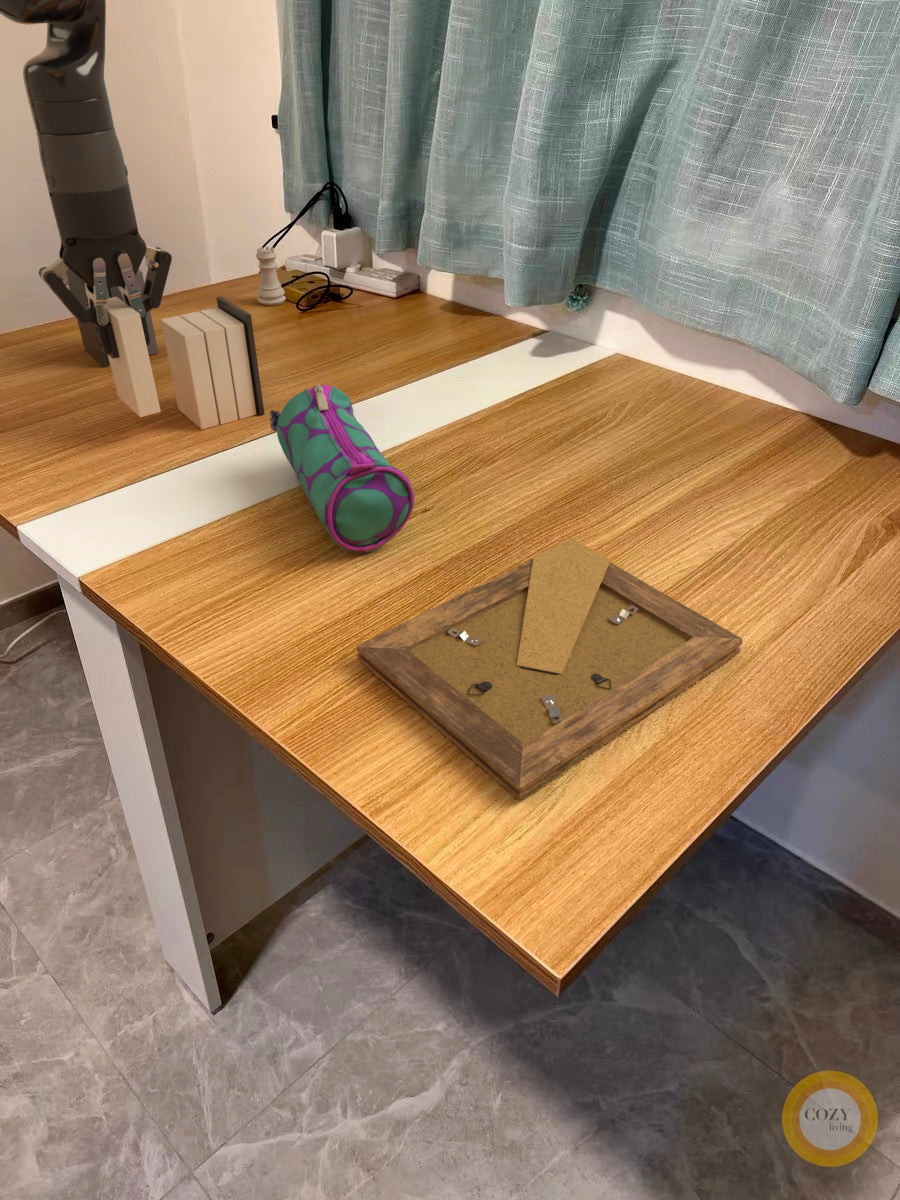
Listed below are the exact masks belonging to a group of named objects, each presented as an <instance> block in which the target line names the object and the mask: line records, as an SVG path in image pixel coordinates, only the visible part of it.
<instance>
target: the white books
mask: <svg viewBox="0 0 900 1200" xmlns="http://www.w3.org/2000/svg"><path fill="white" fill-rule="evenodd" d="M216 303H217V306H216V307H213V308H207V309H202V310H200V311H199V310H197V311H193V312H189V313H184V314H180V315H174V316H170V317H165V318H161V319H160V324H161V329H162V334H163V339H164V344H165V349H166V355H167V359H168V364H169V369H170V374H171V380H172V385H173V390H174V394H175V395H174V396H175V400H176V405H177V409H178V411H180V412H181V413H182V414H184V416H185V417H187V418H188V420H190V421H191V422H192V423H193V424H194V425H195V426H196V427H198V428H199V429H200V430H202V431H203V430H206V429H209V428H214V427H218V426H220V425H224V424H228V423H232V422H236V421H238V420H242V419H245V418H250V417H253V416H257V415H258V416H264V415H265V407H264V400H263V392H262V385H261V378H260V371H259V364H258V356H257V349H256V342H255V335H254V328H253V327H254V326H253V320H252V314H251V313H249V312H247V311H246V310H244V309H242V308H241V307H239V306H238V305H236V304H234V303H232V302H231V301H229V299H226V298H224V297H223V296H217V297H216Z"/></svg>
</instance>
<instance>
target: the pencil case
mask: <svg viewBox="0 0 900 1200" xmlns="http://www.w3.org/2000/svg"><path fill="white" fill-rule="evenodd" d="M269 425H270V429H271V430H272V431H273V432H276V436H277V440H278V443H279V446H280V447H281V450H282V452H283V454H284V456H285V458H286V460H287V461H288V463H289V464H290V466H291V468H292V470H293V471H294V474H295V476H296V479H297V481H298V483H299V485H300V486H301V488H302V490H303V493H304V495H305V496H306V498H307V500H308V501H309V503H310V505H311V507H312V509H313V511H314V512H315V514H316V515H317V516H318V518H319V520H320V522H321V523H322V524H323V526H324V528H325V529H326V532H327V534H328V536H329V537H330V538H331V540H332V541H333V543H335V544H336V545H337V546H338V547H339V548H341V549H343V550H345V551H348V552H351V553H357V554H358V553H360V554H363V553H366V554H367V553H372V552H374V551H376V550H378V549H380V548H382V547H383V546H385V545H386V544H387V543H388V542H389V541H391V540H392V539H393V538H394V537H395V536H397V534H398V533H400V531H401V530H402V529H403V528H404V527H405V525H406V524H407V522H409V519H410V517H411V516H412V513H413V510H414V507H415V491H414V488H413V485H412V483H411V481H410V480H409V478H408V477H407V476H406V474H404V472H402V471H401V470H400V469H398V468H397V467H395V466H393V465H392V464H390V463H389V461H388V460H387V458H386V457H385V456H384V455H383V454H382V452H381V451H380V450H379V448H378V447H377V446H376V444H375V442H374V440H373V439H372V437H371V436H370V434H369V433H368V431H367V430H366V429H365V427H364V426H363V424H361V423H360V422H359V421H358V420H357V418H356V416H355V414H354V407H353V404H352V401H351V399H350V397H349V395H348V394H346V393H345V392H344V391H342V390H340V389H339V388H338V387H335V386H334V385H327V384H322V385H320V384H316V385H313V386H312V387H310V388H305V389H304V390H302V391H300V392H299V393H297V394H295V395H294V396H292V397H291V398H290V399H289V400H288V401H287V402H286V404H285V405H284V407H283V408H282V410H281V411H279V410H273V409H271V410H270V412H269Z"/></svg>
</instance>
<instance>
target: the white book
mask: <svg viewBox="0 0 900 1200" xmlns="http://www.w3.org/2000/svg"><path fill="white" fill-rule="evenodd" d="M107 306H108V315H109V323H111V324H112V327H113V331H114V335H115V339H116V344H117V348H118V352H119V357H118V358H114V359H112V358H111V357H110V356H109V355H108V357H109V361H110V365H109V366H110V370H111V373H112V378H113V381H114V386H115V390H116V394H117V397H118V398H119V399H120V400H121V401H122V402H123V403H124V404H125V405H126V406H127V407H128V408H129V409H130V410H131V411H132V412H133V413H135V414H136V415H137V416H138V417H139V418H144V417H148V416H152V415H154V414H159V413H161V412H162V411H161V407H160V401H159V397H158V392H157V388H156V383H155V379H154V374H153V369H152V365H151V361H150V355H148V350H147V346H146V341H145V336H144V332H143V327H142V322H141V318H140V314H139V313H138V312H136V311H135V310H134V309H132V308H131V307H130V306H128V305H127V304H126V303H124V302H123V301H121V300H120V299H119V298H117V297H113V298H108V303H107Z"/></svg>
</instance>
